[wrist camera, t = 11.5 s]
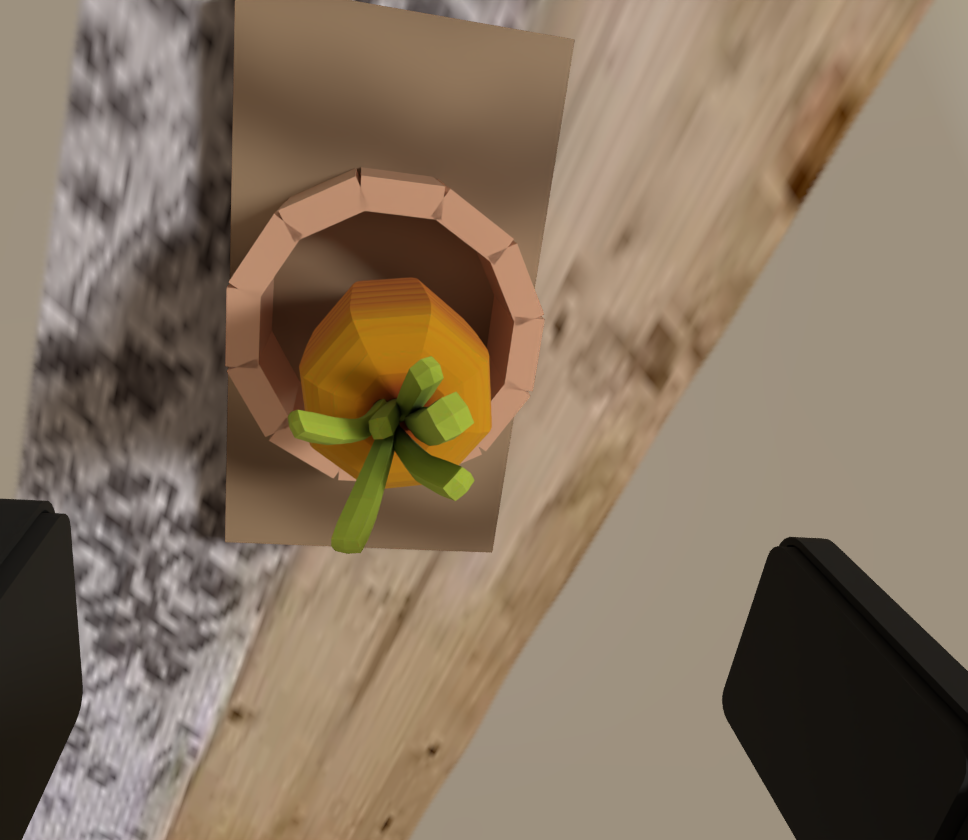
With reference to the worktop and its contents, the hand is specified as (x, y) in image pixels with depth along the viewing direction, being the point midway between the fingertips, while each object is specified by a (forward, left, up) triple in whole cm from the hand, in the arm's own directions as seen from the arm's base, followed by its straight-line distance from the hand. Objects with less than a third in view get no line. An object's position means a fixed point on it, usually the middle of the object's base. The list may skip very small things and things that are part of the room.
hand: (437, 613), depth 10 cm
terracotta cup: (+1, 0, -19) cm, 19 cm away
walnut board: (+1, 0, -21) cm, 21 cm away
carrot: (0, 0, -19) cm, 19 cm away
